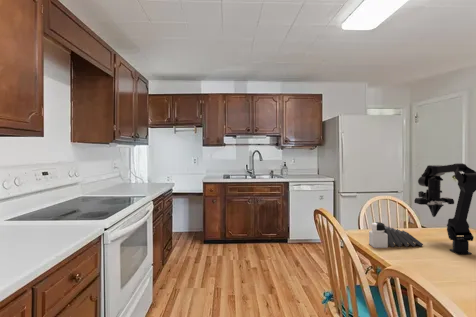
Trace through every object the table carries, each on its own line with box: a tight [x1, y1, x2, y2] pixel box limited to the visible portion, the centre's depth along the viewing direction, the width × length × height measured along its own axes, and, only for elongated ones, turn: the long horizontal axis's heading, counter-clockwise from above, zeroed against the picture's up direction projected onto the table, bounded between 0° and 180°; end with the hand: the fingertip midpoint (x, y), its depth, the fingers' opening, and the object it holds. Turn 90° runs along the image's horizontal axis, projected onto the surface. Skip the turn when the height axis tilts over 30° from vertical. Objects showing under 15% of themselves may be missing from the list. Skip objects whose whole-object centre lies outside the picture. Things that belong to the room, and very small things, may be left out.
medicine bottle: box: [368, 221, 389, 249], centre depth 163 cm, size 7×7×12 cm
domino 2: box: [388, 226, 403, 248], centre depth 163 cm, size 5×2×10 cm, turn 179°
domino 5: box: [401, 230, 424, 247], centre depth 164 cm, size 5×2×10 cm
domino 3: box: [391, 227, 410, 248], centre depth 163 cm, size 5×2×10 cm
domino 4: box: [396, 228, 417, 248], centre depth 164 cm, size 5×2×10 cm
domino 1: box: [384, 225, 395, 248], centre depth 163 cm, size 5×2×10 cm, turn 179°
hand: (433, 216), depth 171 cm, fingers closed
